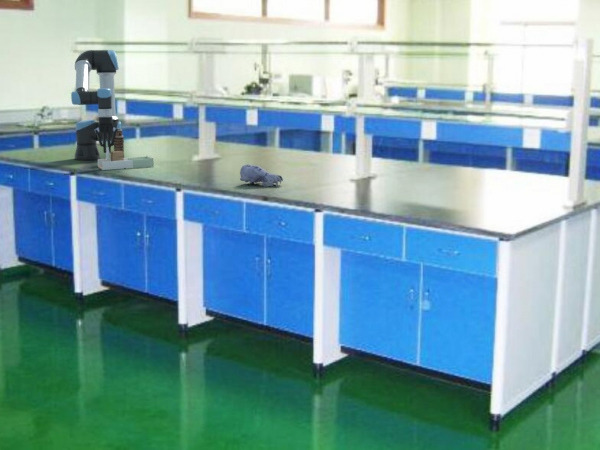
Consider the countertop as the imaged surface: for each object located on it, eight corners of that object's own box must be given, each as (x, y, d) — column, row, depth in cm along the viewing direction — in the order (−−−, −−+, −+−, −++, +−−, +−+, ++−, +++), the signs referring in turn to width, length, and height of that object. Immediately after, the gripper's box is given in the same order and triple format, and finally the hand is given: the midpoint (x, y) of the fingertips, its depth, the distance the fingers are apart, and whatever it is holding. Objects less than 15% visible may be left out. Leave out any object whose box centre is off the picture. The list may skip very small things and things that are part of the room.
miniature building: (111, 164, 490) (109, 130, 486) (108, 162, 500) (106, 128, 496) (129, 163, 494) (128, 129, 490) (126, 161, 504) (124, 127, 499)
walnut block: (110, 161, 479) (110, 151, 478) (121, 161, 482) (120, 150, 480) (113, 163, 474) (112, 152, 473) (124, 162, 476) (123, 151, 475)
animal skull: (273, 192, 409) (273, 172, 406) (234, 186, 419) (234, 166, 416) (286, 185, 421) (287, 166, 417) (248, 179, 430) (248, 160, 427)
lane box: (98, 167, 480) (97, 158, 479) (148, 164, 492) (147, 155, 491) (102, 170, 469) (102, 161, 468) (153, 166, 481) (153, 157, 480)
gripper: (95, 117, 464) (97, 160, 469) (118, 116, 469) (120, 158, 474) (92, 116, 471) (94, 158, 476) (115, 115, 476) (117, 157, 481)
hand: (107, 158), depth 475 cm, fingers closed
